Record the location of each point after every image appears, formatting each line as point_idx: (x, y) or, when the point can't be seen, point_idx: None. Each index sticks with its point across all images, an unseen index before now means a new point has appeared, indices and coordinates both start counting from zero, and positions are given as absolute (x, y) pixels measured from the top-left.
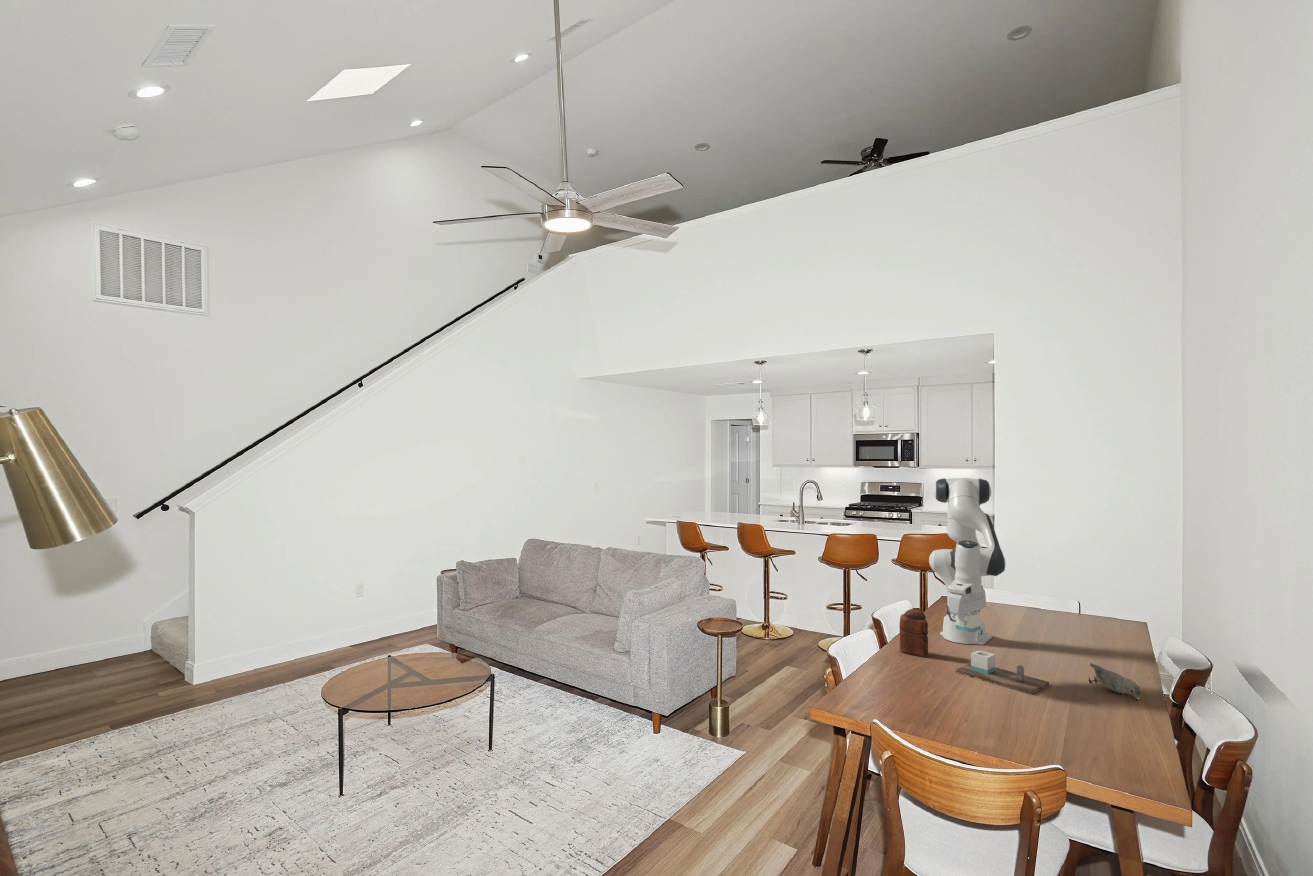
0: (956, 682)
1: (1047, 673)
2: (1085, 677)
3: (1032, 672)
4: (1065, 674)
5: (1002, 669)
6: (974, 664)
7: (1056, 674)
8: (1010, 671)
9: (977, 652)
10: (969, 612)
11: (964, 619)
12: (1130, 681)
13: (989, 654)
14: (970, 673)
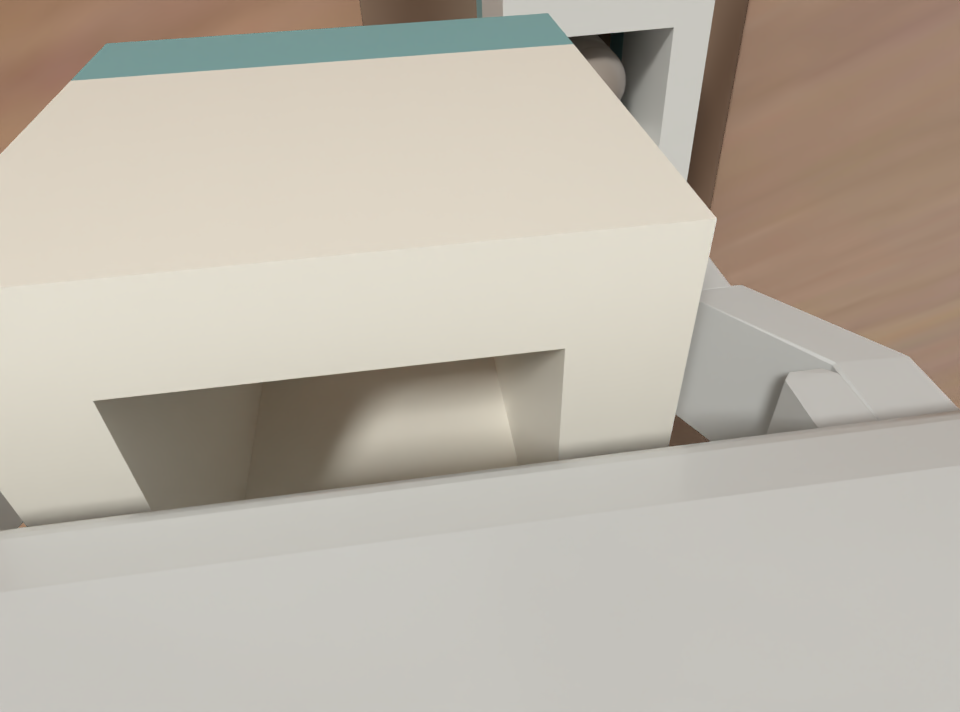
0: (85, 32)
1: (909, 284)
2: (956, 402)
3: (870, 228)
4: (952, 338)
5: (713, 131)
6: (485, 15)
7: (920, 316)
8: (709, 191)
9: (609, 28)
10: (555, 452)
11: (13, 516)
12: None
13: (659, 137)
14: (363, 23)
